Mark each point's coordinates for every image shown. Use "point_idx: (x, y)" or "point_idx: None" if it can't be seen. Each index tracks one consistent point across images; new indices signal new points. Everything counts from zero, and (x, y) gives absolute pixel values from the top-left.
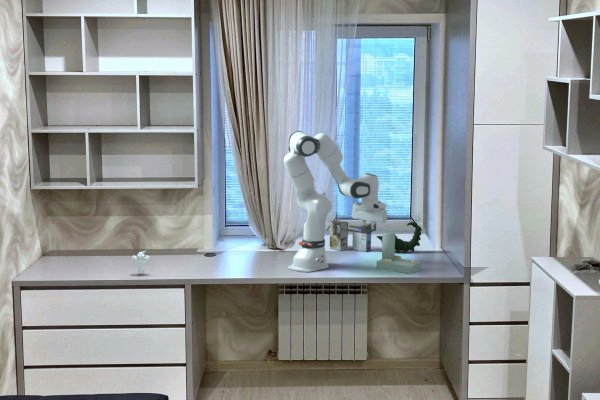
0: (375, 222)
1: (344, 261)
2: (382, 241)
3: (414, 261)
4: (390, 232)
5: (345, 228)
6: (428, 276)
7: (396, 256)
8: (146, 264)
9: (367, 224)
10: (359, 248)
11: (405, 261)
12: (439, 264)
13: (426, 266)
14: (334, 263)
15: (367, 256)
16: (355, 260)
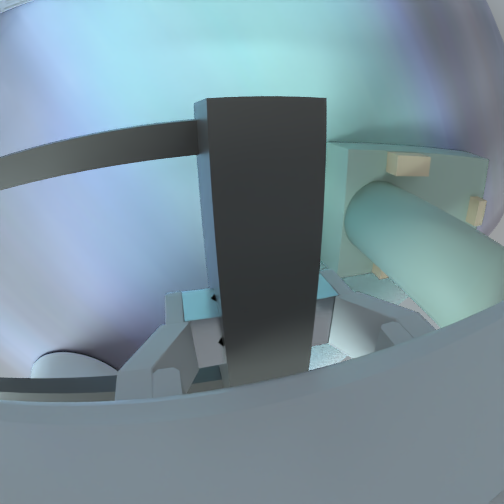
0: (423, 330)
1: (104, 268)
2: (416, 303)
3: (483, 211)
4: (499, 258)
5: (11, 394)
6: (488, 222)
7: (412, 175)
8: None
9: (241, 349)
10: (5, 5)
11: (446, 193)
12: (480, 40)
13: (465, 92)
14: (104, 327)
15: (122, 67)
16: (129, 206)
